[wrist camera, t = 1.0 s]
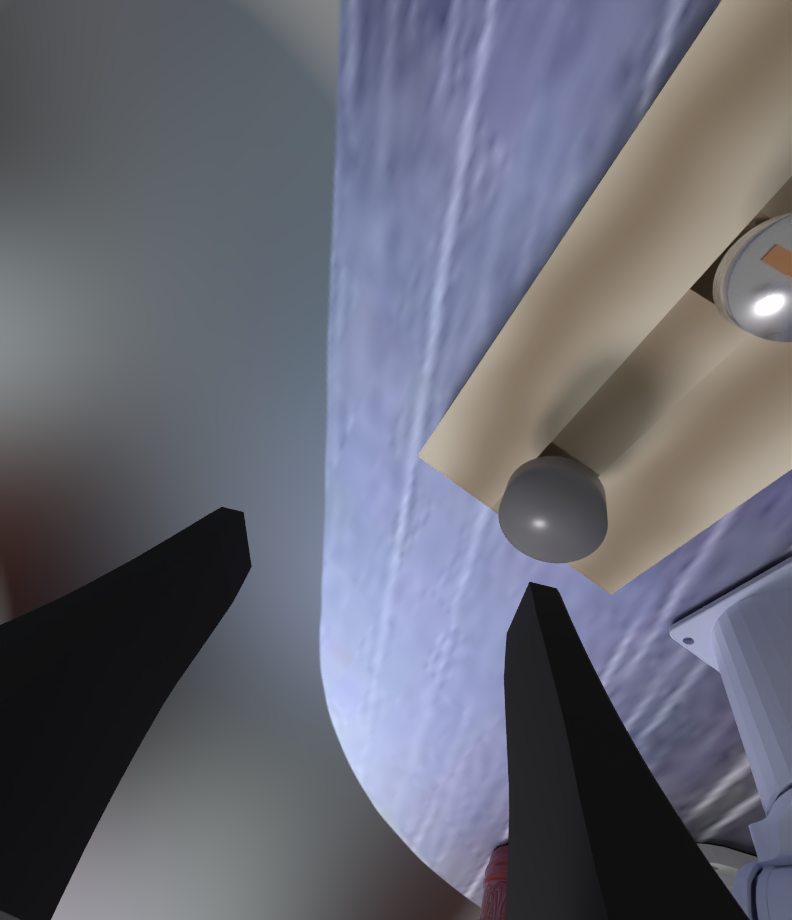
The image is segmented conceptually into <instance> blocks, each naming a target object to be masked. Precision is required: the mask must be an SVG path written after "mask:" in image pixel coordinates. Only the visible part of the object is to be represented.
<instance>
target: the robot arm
mask: <svg viewBox="0 0 792 920" xmlns="http://www.w3.org/2000/svg"><path fill="white" fill-rule="evenodd" d="M247 540H248V539H247V533H246V526H245V519H244V513H243V512H241V511H236V510H232V509H228V508H224V507H221V508H219V509H217V510H216V511H214V512H212V513H210V514H209V515H207V516H205V517H204V518H202V519H200V520H199V521H197V522H195V523H194V524H192V525H191V526H189V527H187V528H186V529H184V530H182V531H180V532H179V533H177V534H175V535H174V536H172V537H171V538H169V539H167V540H165V541H164V542H162V543H160V544H158V545H157V546H155V547H153V548H152V549H150V550H148V551H147V552H145V553H143V554H142V555H140V556H138V557H136V558H135V559H133V560H131V561H129V562H127V563H125V564H124V565H122V566H120V567H118V568H116V569H114V570H113V571H111V572H109V573H107V574H105V575H103V576H101V577H100V578H98V579H96V580H94V581H93V582H90V583H88V584H87V585H85V586H83V587H81V588H79V589H77V590H75V591H73V592H71V593H69V594H67V595H65V596H63V597H61V598H59V599H57V600H55V601H53V602H50V603H49V604H46V605H44V606H42V607H40V608H37V609H35V610H33V611H31V612H29V613H27V614H24V615H22V616H20V617H18V618H16V619H13V620H11V621H9V622H6V623H4V624H2V625H0V920H51V918H52V916H53V914H54V912H55V910H56V907H57V905H58V903H59V901H60V899H61V897H62V895H63V893H64V891H65V889H66V887H67V884H68V883H69V881H70V878H71V876H72V874H73V872H74V870H75V868H76V866H77V864H78V862H79V860H80V858H81V856H82V853H83V852H84V849H85V847H86V845H87V844H88V842H89V840H90V838H91V836H92V834H93V832H94V830H95V828H96V826H97V824H98V822H99V820H100V818H101V816H102V814H103V813H104V811H105V809H106V807H107V805H108V803H109V801H110V799H111V797H112V795H113V793H114V791H115V789H116V788H117V786H118V784H119V782H120V780H121V778H122V776H123V775H124V773H125V771H126V769H127V767H128V766H129V764H130V762H131V760H132V758H133V757H134V755H135V753H136V751H137V749H138V747H139V746H140V744H141V742H142V740H143V739H144V737H145V735H146V733H147V731H148V730H149V728H150V726H151V725H152V723H153V721H154V719H155V718H156V716H157V714H158V713H159V711H160V709H161V707H162V706H163V704H164V702H165V701H166V699H167V698H168V696H169V694H170V693H171V691H172V690H173V688H174V687H175V685H176V684H177V682H178V681H179V679H180V678H181V677H182V675H183V674H184V672H185V671H186V669H187V668H188V666H189V665H190V664H191V662H192V661H193V659H194V658H195V656H196V655H197V654H198V652H199V651H200V649H201V648H202V646H203V645H204V644H205V642H206V641H207V639H208V638H209V636H210V635H211V633H212V632H213V631H214V629H215V628H216V626H217V625H218V623H219V622H220V620H221V619H222V617H223V616H224V615H225V613H226V612H227V610H228V609H229V607H230V605H231V604H232V602H233V601H234V599H235V597H236V595H237V593H238V592H239V590H240V588H241V586H242V584H243V582H244V580H245V578H246V576H247V574H248V572H249V571H250V568H251V560H250V553H249V546H248V541H247ZM669 633H670V636H671V637H672V638H673V639H674V640H675V641H677V642H678V643H679V644H681V645H682V646H684V647H685V648H686V649H688V650H689V651H691V652H692V653H693V654H695V655H696V656H698V657H699V658H700V659H702V660H703V661H705V662H706V663H707V664H709V665H710V666H712V667H713V668H714V669H716V670H717V671H719V672H720V673H721V676H722V680H723V683H724V686H725V689H726V692H727V695H728V698H729V701H730V705H731V708H732V711H733V714H734V717H735V720H736V723H737V726H738V729H739V733H740V736H741V739H742V742H743V745H744V748H745V751H746V754H747V758H748V761H749V764H750V767H751V770H752V773H753V776H754V779H755V783H756V786H757V789H758V792H759V795H760V798H761V801H762V804H763V807H764V811H765V814H766V818H765V819H764V820H761V821H759V822H756V823H752V824H750V825H749V829H750V832H751V836H752V839H753V843H754V846H755V850H756V853H757V857H758V860H759V862H750V863H747V864H744V865H743V866H742V867H741V868H740V869H739V870H738V871H737V873H736V876H735V879H734V883H733V892H732V894H731V892H730V891H729V890H728V888H727V887H726V885H725V884H724V883H723V881H722V880H721V878H720V877H719V876H718V874H717V873H716V871H715V870H714V869H713V867H712V866H711V864H710V863H709V861H708V860H707V858H706V857H705V855H704V854H703V852H702V851H701V849H700V848H699V846H698V845H697V843H696V842H695V840H694V839H693V837H692V836H691V834H690V833H689V831H688V830H687V828H686V827H685V825H684V824H683V822H682V821H681V819H680V818H679V816H678V815H677V813H676V811H675V810H674V808H673V807H672V805H671V803H670V802H669V800H668V799H667V797H666V796H665V794H664V792H663V791H662V789H661V788H660V786H659V784H658V783H657V781H656V780H655V778H654V776H653V775H652V773H651V771H650V770H649V768H648V766H647V765H646V763H645V761H644V760H643V758H642V756H641V754H640V753H639V751H638V749H637V748H636V746H635V744H634V742H633V741H632V739H631V737H630V735H629V733H628V732H627V730H626V728H625V726H624V725H623V723H622V721H621V719H620V717H619V716H618V714H617V712H616V710H615V708H614V706H613V704H612V703H611V701H610V699H609V697H608V695H607V693H606V691H605V689H604V687H603V685H602V683H601V681H600V679H599V677H598V675H597V673H596V671H595V669H594V667H593V665H592V663H591V661H590V659H589V657H588V655H587V653H586V651H585V649H584V647H583V645H582V642H581V640H580V638H579V636H578V634H577V632H576V630H575V627H574V625H573V623H572V621H571V618H570V616H569V614H568V612H567V609H566V607H565V605H564V602H563V600H562V598H561V595H560V593H559V591H558V590H557V588H553V587H549V586H545V585H540V584H536V583H532V582H529V584H528V587H527V589H526V591H525V593H524V596H523V598H522V600H521V602H520V605H519V607H518V609H517V612H516V614H515V616H514V618H513V621H512V623H511V625H510V628H509V630H508V632H507V639H506V653H505V670H504V689H505V713H506V734H507V755H508V776H509V837H508V866H507V888H506V909H505V920H792V556H791V557H790V558H788V559H786V560H784V561H783V562H781V563H779V564H777V565H776V566H774V567H772V568H770V569H769V570H767V571H765V572H763V573H762V574H760V575H758V576H756V577H755V578H753V579H751V580H749V581H748V582H746V583H744V584H742V585H741V586H739V587H737V588H735V589H734V590H732V591H730V592H729V593H727V594H725V595H723V596H722V597H720V598H718V599H716V600H715V601H713V602H711V603H709V604H708V605H706V606H704V607H702V608H701V609H699V610H697V611H695V612H694V613H692V614H690V615H688V616H687V617H685V618H683V619H681V620H680V621H678V622H676V623H674V624H673V625H671V626H670V627H669ZM686 637H688V638H691V639H685V638H686Z"/></svg>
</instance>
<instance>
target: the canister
mask: <svg viewBox="0 0 792 920" xmlns="http://www.w3.org/2000/svg"><path fill="white" fill-rule="evenodd" d="M507 866H508V845H506V846H502V847H499V848H497V849H495V850H494V851H493V852H492V854H491V857H490V861H489V864H488V866H487V868H486V871H485V878H484V882H483V889H484V894H483V900H482V906H481V913H480V919H479V920H505V909H506V888H507Z"/></svg>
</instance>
